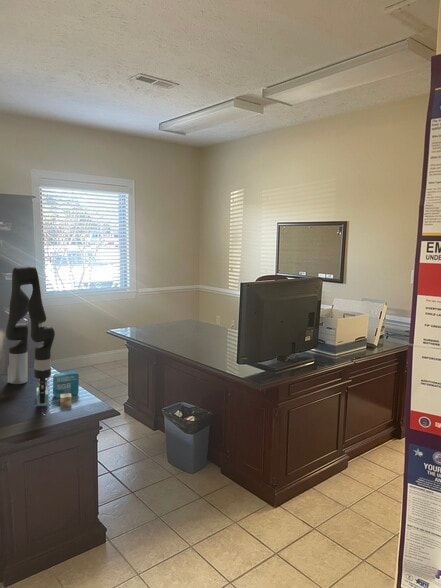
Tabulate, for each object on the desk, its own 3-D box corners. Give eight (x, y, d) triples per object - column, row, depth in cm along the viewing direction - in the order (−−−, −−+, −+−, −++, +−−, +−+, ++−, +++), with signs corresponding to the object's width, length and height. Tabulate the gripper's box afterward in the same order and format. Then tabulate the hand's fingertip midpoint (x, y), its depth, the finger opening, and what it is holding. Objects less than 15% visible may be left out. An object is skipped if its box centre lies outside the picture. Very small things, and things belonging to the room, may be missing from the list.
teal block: (36, 405, 206) (36, 395, 205) (36, 401, 211) (36, 391, 210) (47, 404, 208) (48, 394, 207) (47, 400, 213) (47, 390, 212)
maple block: (60, 407, 210) (60, 397, 209) (60, 403, 214) (60, 394, 213) (71, 406, 211) (71, 396, 211) (70, 402, 216) (70, 393, 215)
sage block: (36, 400, 216) (36, 391, 216) (36, 396, 221) (36, 387, 220) (47, 399, 218) (47, 390, 217) (47, 396, 223) (47, 386, 222)
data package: (55, 398, 219) (55, 376, 218) (52, 396, 223) (52, 373, 221) (78, 394, 227) (78, 373, 225) (75, 392, 230) (76, 370, 229)
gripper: (34, 363, 212) (34, 396, 214) (33, 372, 199) (33, 407, 201) (50, 362, 215) (50, 394, 217) (51, 371, 202) (50, 405, 204)
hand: (42, 400), depth 209 cm, fingers closed on teal block, 5 cm apart
